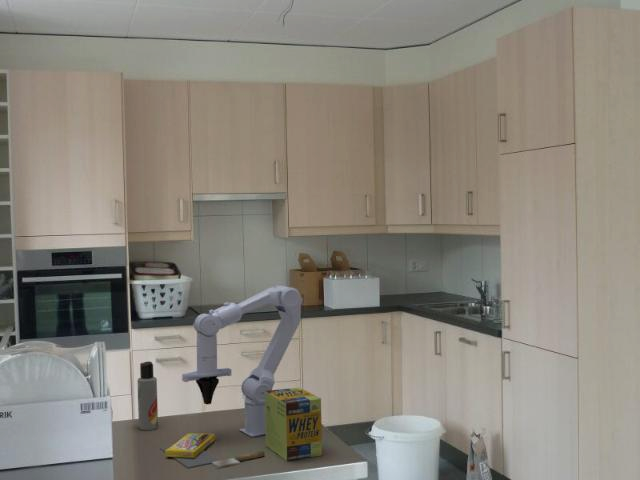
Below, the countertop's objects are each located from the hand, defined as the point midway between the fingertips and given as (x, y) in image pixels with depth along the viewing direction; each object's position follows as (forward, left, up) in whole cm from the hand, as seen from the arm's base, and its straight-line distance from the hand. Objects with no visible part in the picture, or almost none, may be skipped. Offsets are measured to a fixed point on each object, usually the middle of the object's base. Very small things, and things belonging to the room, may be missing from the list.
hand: (207, 403), depth 226 cm
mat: (+10, +10, -10) cm, 17 cm away
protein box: (-15, +23, -11) cm, 29 cm away
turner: (+1, +22, -10) cm, 24 cm away
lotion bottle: (+10, -21, -11) cm, 26 cm away
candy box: (+5, +9, -9) cm, 14 cm away
